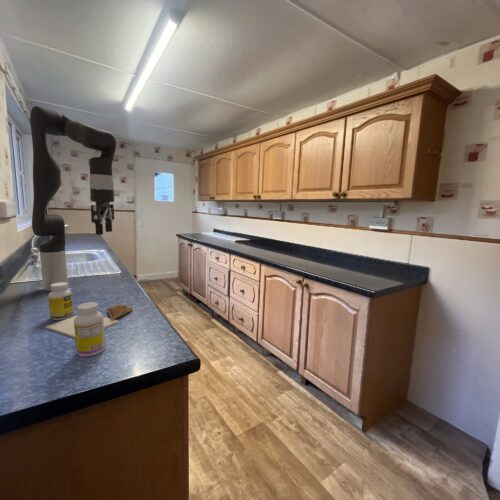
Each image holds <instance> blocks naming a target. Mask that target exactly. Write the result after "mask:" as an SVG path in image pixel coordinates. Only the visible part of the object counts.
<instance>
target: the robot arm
mask: <svg viewBox="0 0 500 500" xmlns="http://www.w3.org/2000/svg"><path fill="white" fill-rule="evenodd" d="M29 117H30V118H29V121H30V133H31V140H32V141H31V142H32V185H33V187H32V188H33V190H32V191H33V202H32V203H33V204H32V216H31V228H32V233H33V234H34V235H35V236H36V237H48V236H49V237H51V239H50V240H48V241H46V242H44V243H42V244H40V245H39V257H40V266H41V267H40V271H41V272H40V273H41V281H42V289H43V291H44V292H45V291H46V292H52V290H51V285H52V284H54V283H60V282H65V283H67V284H68V287H67V289H68V288H69V285H70V284H69V278H68V277H69V275H68V266H67V265H68V264H67V255H66V224H65V220H64V218H63V216H62V215H61V214H56V213H55V214H46V210H47V207H48V204H49V203H50V201H51V200H52V199H53V197H54V196H55V195H56V194H57V192H58V191H59V189H60V187H61V183H62V182H61V181H62V180H61V179H62V170H61V167H60V166H59V163H58V161H56V159H55V157H54V156H53V154H52V152H51V151H50V149H49V147H48V142H47V139H46V138H47V135H50V136H56V137H57V136H59V137H68V138H69V139H70V140H72V141H74V142H76V143H79V144H81V145H82V146H83V147H85V148H87V149H90V150H95V151H101V152H100V156H94V157H90V158H89V161H88V163H89V192H90V194H89V195H90V201H91V202H95V204H91V205H90V217H91V221H90V222H91V223H92V224H94V227H95V228H94V229H95V235H96V236H97V235H98V236H102V235H103V234H104V231H105V232H107V233H111V232H113V222H114V221H115V210H114V209H115V206H114V204H110V203H114V202H115V189H114V188H115V187H114V186H115V185H114V178H113V162H114V161H113V160H114V158H115V154H116V149H117V140H116V139H117V138H116V136H115V134H113V133H112V132H111V131H109V130H104V129H99V128H96V127H92V126H90V125H88V124H86V123H83V122H79V121H76V120H73V119H70V118H69V117H68V116H66V115H65V114H63V113H61V112H60V111H57V110H53V109H50V108H49V109H48V108H46V107H43V106H42V107H41V106H37V105H36V106H33V107H32V108H31V110H30V116H29ZM103 223H104V225H105V228H104V225H103ZM104 229H105V230H104Z"/></svg>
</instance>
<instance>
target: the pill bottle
mask: <svg viewBox="0 0 500 500" xmlns="http://www.w3.org/2000/svg"><path fill="white" fill-rule="evenodd" d="M68 285H69V283H68V284H67V283H65V282H60V283H54V284H52V285H51V290H52V291H49V293H48V296H47V298H48V306H49V307H48V308H49V317H50V319H51V320H53V321H63V320H65V319H68V318H71V317H73V315H74V308H73V307H74V305H73V295H72V294H73V293H72V291H71V290H70V289H68V288H69V287H68ZM67 287H68V288H67Z"/></svg>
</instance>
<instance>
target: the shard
mask: <svg viewBox="0 0 500 500" xmlns="http://www.w3.org/2000/svg"><path fill="white" fill-rule="evenodd" d="M133 309H134V308H133V307H132V306H130V305H126V304H125V305H124V304H116V305H114V306H111V307H108V308H107V309H106V310H107V312H108V313H109V318H110V319H113V320H116V319H117V318H119V317H121V316H124V315H125V314H128V313H129V312H132V311H133Z"/></svg>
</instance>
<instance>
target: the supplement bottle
mask: <svg viewBox="0 0 500 500" xmlns="http://www.w3.org/2000/svg"><path fill="white" fill-rule="evenodd" d="M76 310H77V313H78V314H77V316H76V315H75V316H76V317H75V318H74V328H75V338H74V339H75V346H76V354H77V355H78V356H80V357H93V356H96V355H98V354H101V353H102V352H103V351H104V350H105V348H106V336H105V335H106V333H105V329H104V320H103V317H104V315H103V313H102V312H100V311H99V303H98V302H94V301H90V302H89V301H88V302H84V303H81V304H78V305H77V307H76Z"/></svg>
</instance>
